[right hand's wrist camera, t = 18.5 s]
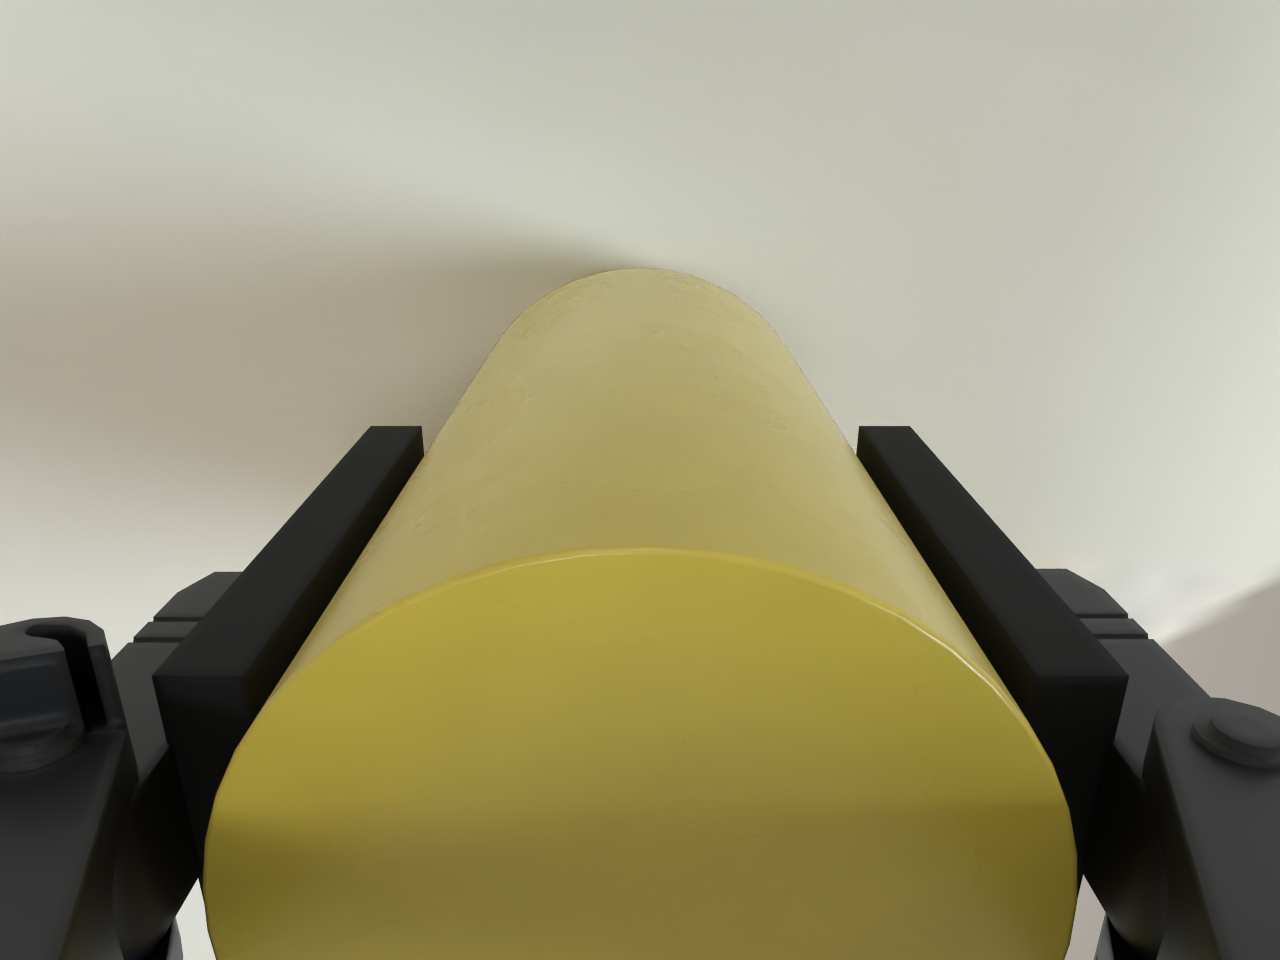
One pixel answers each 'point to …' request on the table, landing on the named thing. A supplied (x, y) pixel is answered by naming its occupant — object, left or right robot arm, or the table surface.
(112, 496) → the table surface
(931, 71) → the table surface
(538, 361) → the canister
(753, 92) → the table surface
